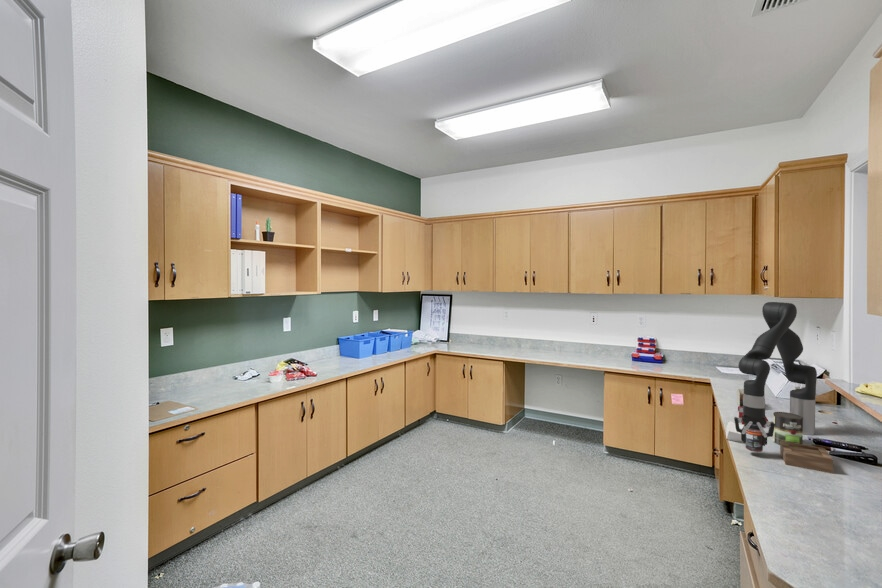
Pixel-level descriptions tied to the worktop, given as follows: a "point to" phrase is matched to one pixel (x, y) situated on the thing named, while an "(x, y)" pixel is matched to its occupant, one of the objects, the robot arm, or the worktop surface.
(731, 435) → the white cube
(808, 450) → the walnut block
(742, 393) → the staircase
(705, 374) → the worktop surface
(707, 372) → the worktop surface
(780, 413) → the coffee can
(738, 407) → the toy fire truck
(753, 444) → the supplement bottle
